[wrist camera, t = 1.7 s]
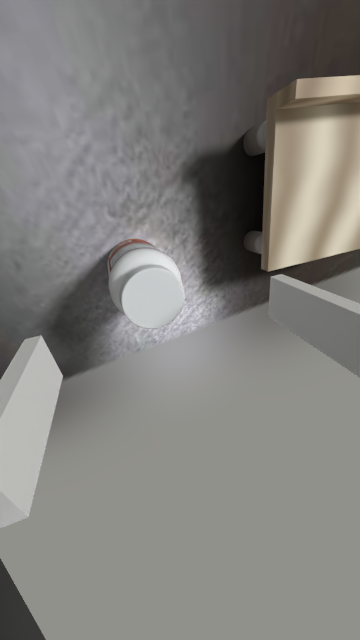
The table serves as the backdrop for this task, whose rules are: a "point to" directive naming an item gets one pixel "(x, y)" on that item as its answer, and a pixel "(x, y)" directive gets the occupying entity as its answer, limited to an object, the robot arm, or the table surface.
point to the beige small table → (308, 172)
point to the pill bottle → (144, 284)
